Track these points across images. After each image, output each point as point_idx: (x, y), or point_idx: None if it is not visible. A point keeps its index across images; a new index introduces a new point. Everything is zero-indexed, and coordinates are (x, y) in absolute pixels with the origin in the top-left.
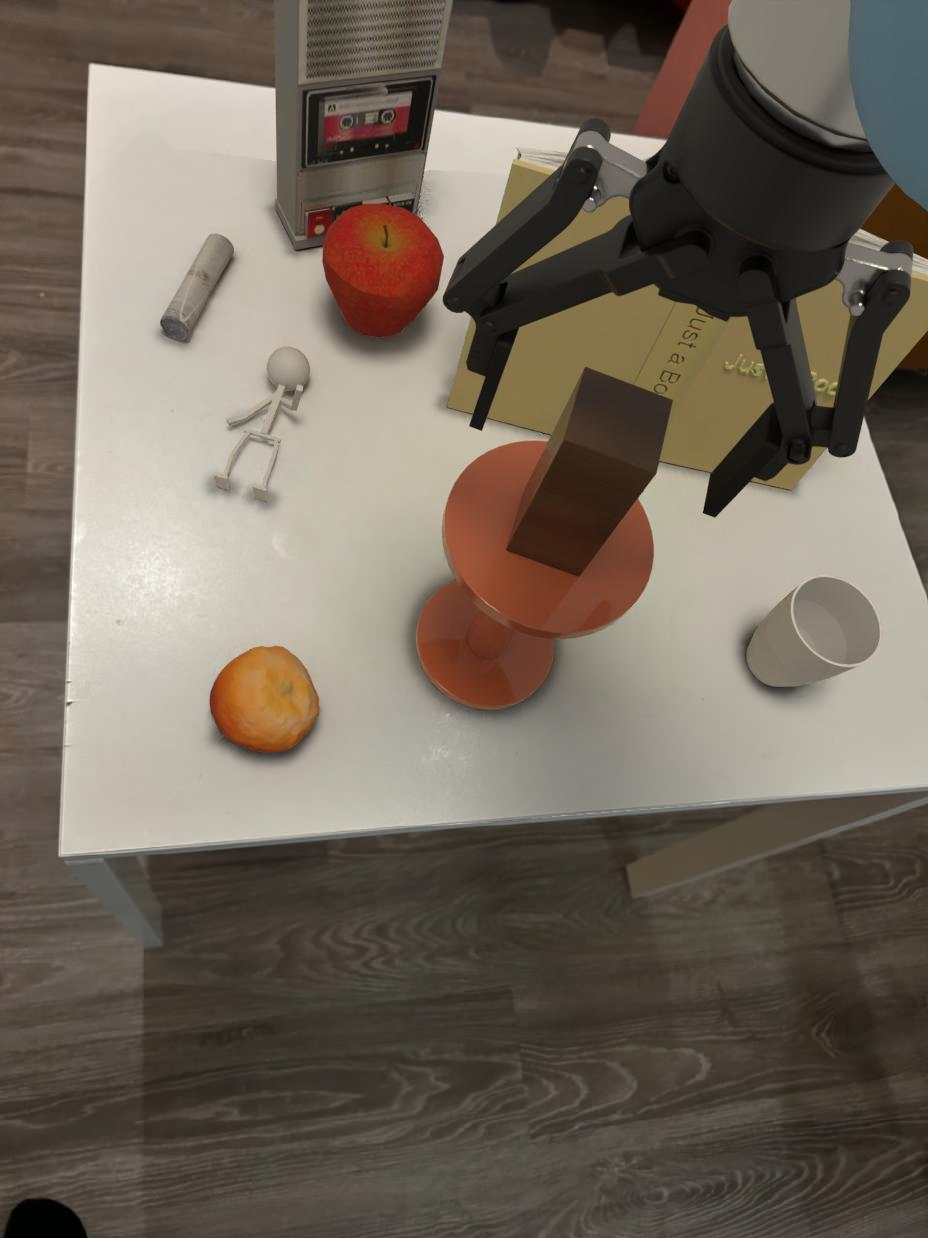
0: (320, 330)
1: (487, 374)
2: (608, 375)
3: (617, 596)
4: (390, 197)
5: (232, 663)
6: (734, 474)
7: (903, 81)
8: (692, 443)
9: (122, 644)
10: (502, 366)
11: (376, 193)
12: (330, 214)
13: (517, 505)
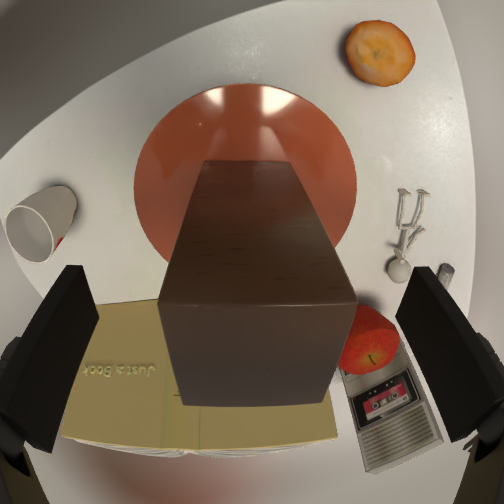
0: (380, 297)
1: (480, 342)
2: (286, 405)
3: (158, 155)
4: None
5: (412, 67)
6: (47, 337)
7: None
8: (153, 314)
9: (446, 85)
10: (482, 365)
11: None
12: None
13: None
